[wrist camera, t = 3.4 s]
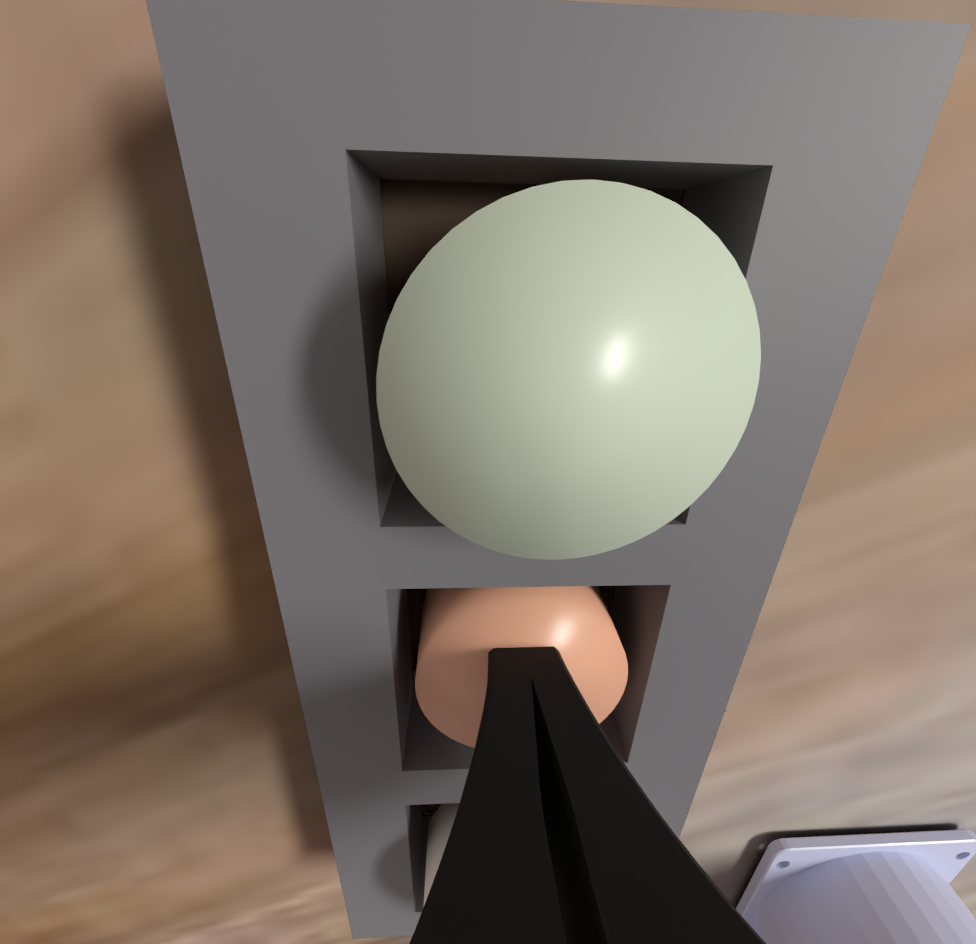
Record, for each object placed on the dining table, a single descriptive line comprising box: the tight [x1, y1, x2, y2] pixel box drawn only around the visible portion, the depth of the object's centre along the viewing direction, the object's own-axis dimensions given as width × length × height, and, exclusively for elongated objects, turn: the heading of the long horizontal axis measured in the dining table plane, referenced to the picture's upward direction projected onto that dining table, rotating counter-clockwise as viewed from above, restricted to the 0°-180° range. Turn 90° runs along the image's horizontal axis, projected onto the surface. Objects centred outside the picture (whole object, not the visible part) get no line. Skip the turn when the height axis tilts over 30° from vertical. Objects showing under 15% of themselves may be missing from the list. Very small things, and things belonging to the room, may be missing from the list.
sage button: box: [376, 179, 761, 560], centre depth 6 cm, size 4×4×2 cm
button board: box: [146, 0, 971, 939], centre depth 11 cm, size 21×9×2 cm, turn 179°
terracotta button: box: [415, 586, 628, 748], centre depth 11 cm, size 4×4×2 cm
